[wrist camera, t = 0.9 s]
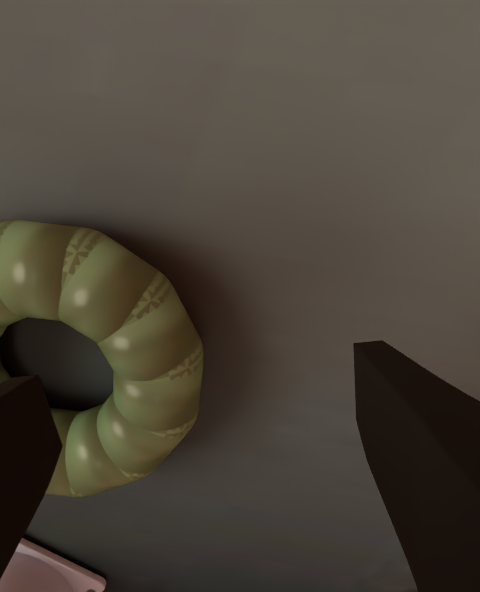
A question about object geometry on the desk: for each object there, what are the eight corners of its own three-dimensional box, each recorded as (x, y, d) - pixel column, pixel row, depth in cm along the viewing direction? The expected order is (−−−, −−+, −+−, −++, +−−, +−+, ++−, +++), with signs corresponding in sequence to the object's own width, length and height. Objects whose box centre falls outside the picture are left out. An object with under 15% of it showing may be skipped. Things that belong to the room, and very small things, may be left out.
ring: (119, 492, 23) (96, 554, 20) (-106, 370, 21) (-174, 419, 17) (260, 324, 19) (262, 367, 16) (5, 150, 17) (-55, 158, 14)
